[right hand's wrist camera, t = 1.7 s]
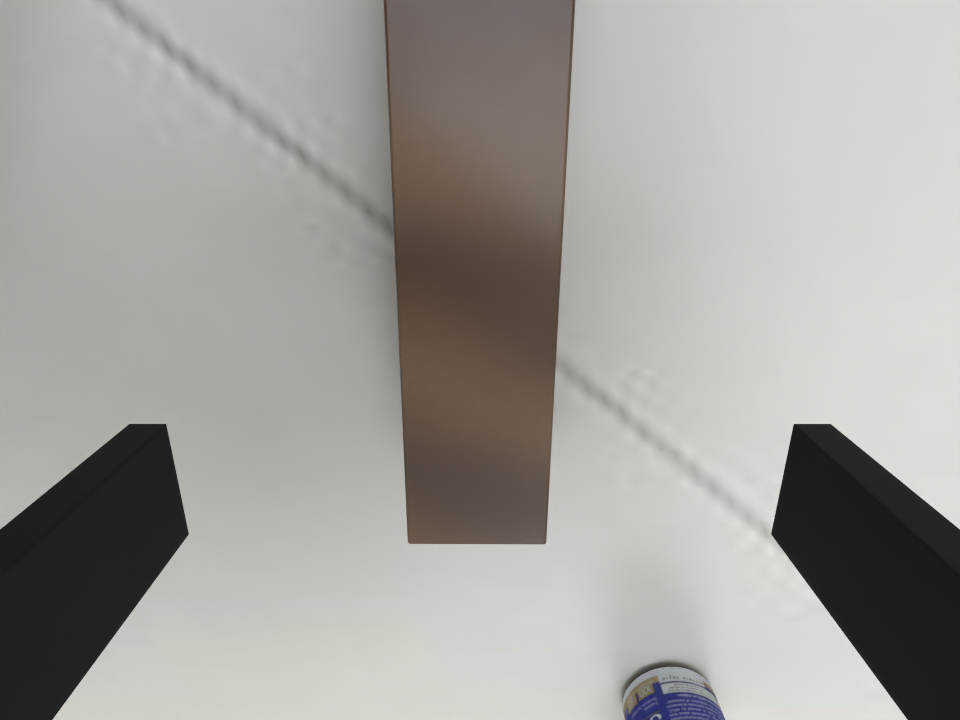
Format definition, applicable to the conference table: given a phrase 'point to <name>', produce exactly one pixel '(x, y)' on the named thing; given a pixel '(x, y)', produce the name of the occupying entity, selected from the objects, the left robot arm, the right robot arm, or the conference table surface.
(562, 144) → the beam
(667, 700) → the pill bottle
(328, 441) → the conference table surface
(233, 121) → the conference table surface
